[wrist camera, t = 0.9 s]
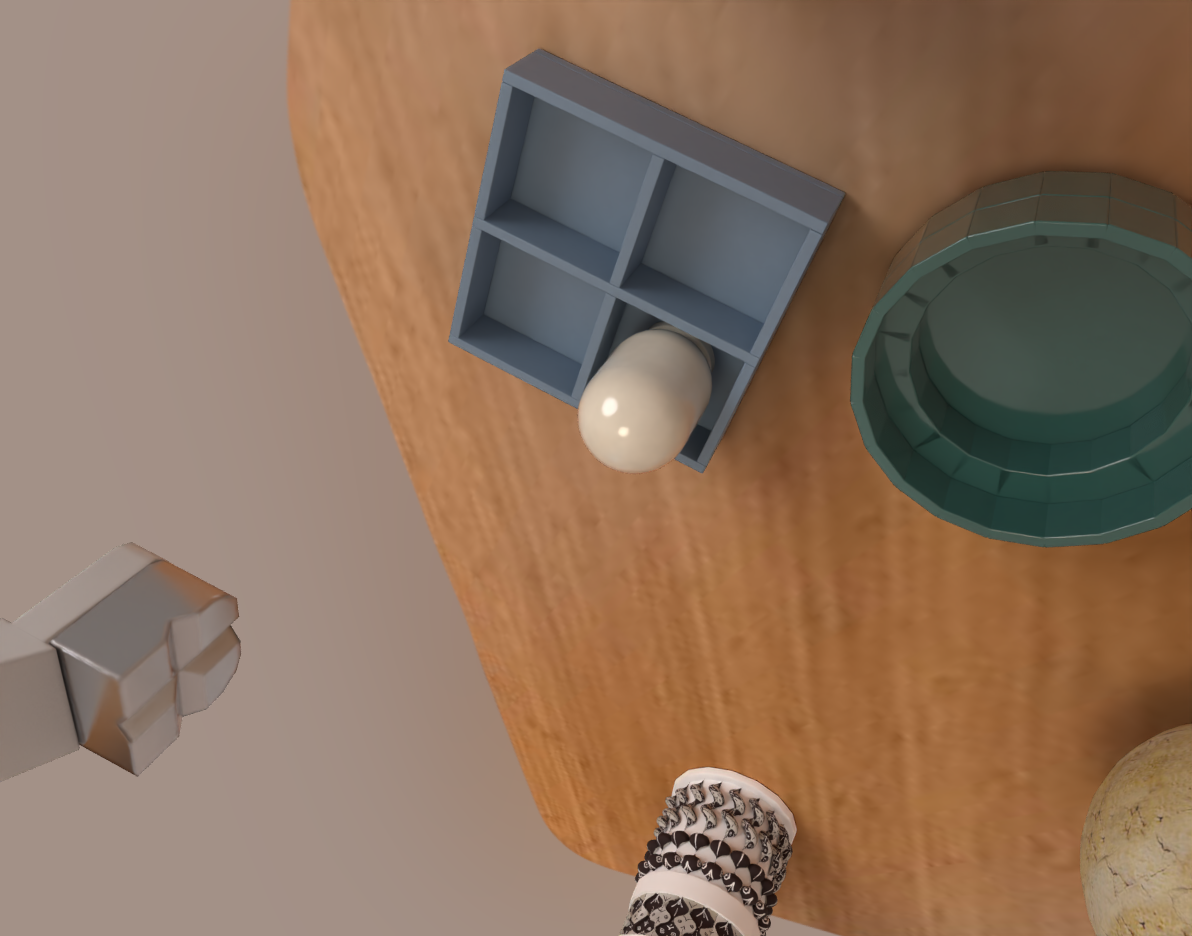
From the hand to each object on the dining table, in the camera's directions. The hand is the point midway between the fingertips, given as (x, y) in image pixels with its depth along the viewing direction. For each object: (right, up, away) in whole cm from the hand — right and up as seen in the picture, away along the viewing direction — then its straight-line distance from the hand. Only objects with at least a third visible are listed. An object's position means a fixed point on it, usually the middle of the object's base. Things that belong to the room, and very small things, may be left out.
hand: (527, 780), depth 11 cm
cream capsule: (+5, +9, +33) cm, 35 cm away
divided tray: (+3, +13, +32) cm, 34 cm away
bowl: (+18, +9, +26) cm, 33 cm away
